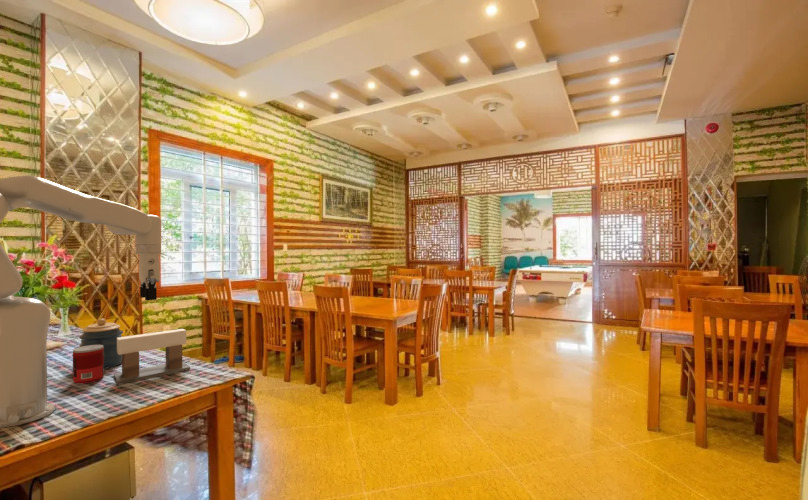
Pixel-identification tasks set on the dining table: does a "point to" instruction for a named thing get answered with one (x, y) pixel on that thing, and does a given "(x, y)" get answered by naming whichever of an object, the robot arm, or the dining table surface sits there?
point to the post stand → (134, 373)
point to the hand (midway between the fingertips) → (148, 298)
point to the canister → (104, 340)
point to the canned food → (88, 364)
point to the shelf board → (150, 341)
